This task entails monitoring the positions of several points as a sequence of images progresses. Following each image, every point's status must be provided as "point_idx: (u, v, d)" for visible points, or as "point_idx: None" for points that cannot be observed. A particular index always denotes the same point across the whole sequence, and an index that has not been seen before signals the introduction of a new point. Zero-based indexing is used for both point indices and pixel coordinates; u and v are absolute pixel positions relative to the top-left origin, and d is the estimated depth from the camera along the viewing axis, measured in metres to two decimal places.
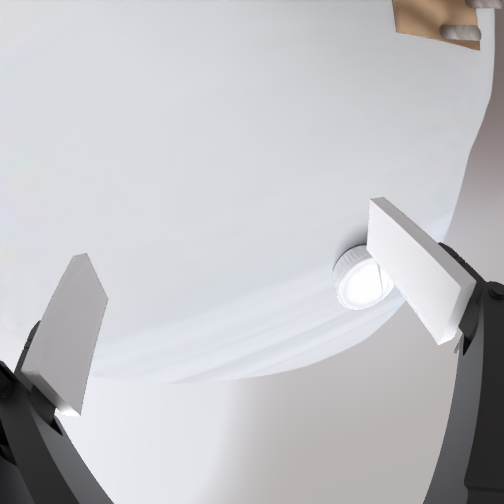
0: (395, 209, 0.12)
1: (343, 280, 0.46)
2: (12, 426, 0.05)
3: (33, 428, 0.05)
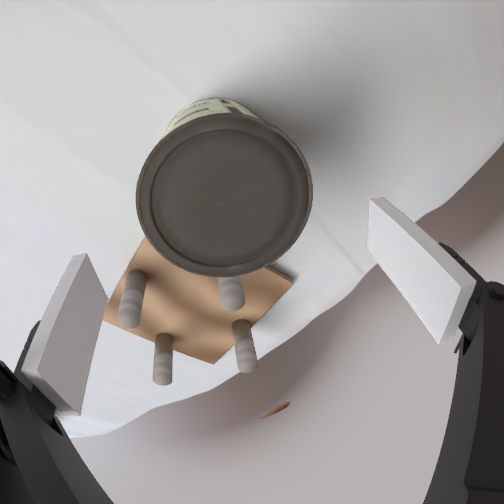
0: (395, 209, 0.12)
1: None
2: (12, 426, 0.05)
3: (33, 428, 0.05)
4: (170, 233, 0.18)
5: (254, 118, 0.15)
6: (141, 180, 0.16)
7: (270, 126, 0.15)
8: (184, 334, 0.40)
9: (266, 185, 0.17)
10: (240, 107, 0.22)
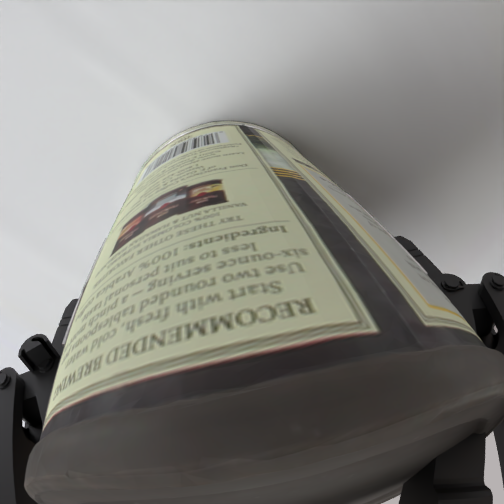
0: None
1: None
2: None
3: None
4: None
5: (491, 388, 0.02)
6: None
7: None
8: None
9: (403, 476, 0.04)
10: (298, 160, 0.09)
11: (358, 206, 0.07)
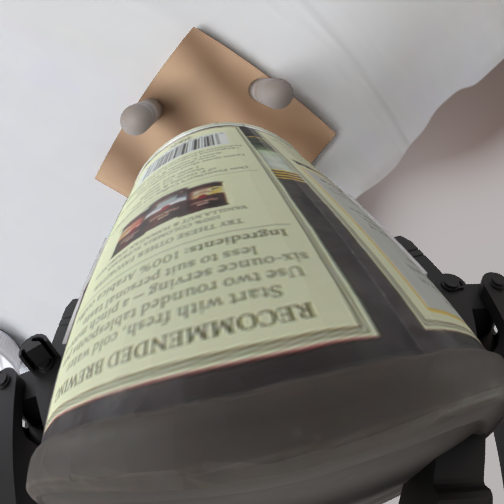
0: (356, 204, 0.13)
1: None
2: (48, 402, 0.06)
3: None
4: None
5: (490, 392, 0.02)
6: None
7: None
8: None
9: (403, 477, 0.04)
10: (298, 161, 0.09)
11: (358, 208, 0.07)
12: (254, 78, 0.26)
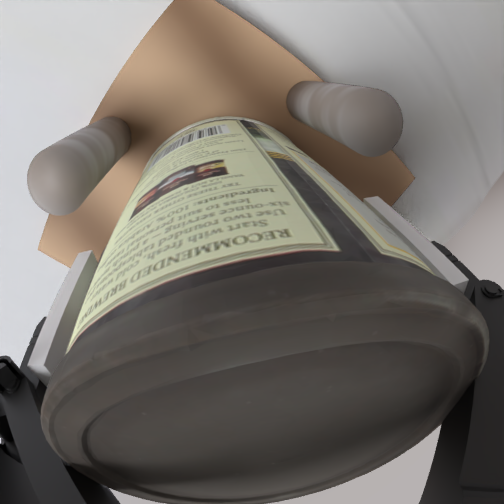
0: (388, 208, 0.12)
1: None
2: (17, 422, 0.05)
3: (39, 424, 0.06)
4: (153, 486, 0.06)
5: (438, 298, 0.03)
6: (52, 440, 0.04)
7: (468, 314, 0.04)
8: None
9: (387, 422, 0.06)
10: (291, 148, 0.10)
11: (341, 184, 0.09)
12: (297, 80, 0.14)
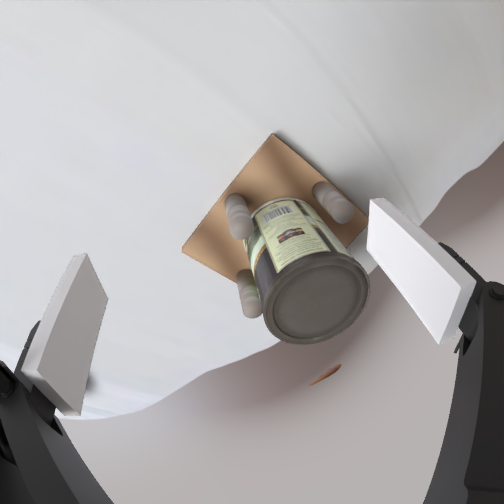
0: (395, 209, 0.12)
1: None
2: (12, 426, 0.05)
3: (33, 428, 0.05)
4: (281, 321, 0.28)
5: (345, 258, 0.25)
6: (271, 293, 0.26)
7: (353, 262, 0.25)
8: None
9: (344, 294, 0.27)
10: (316, 219, 0.32)
11: (332, 234, 0.30)
12: (317, 181, 0.36)
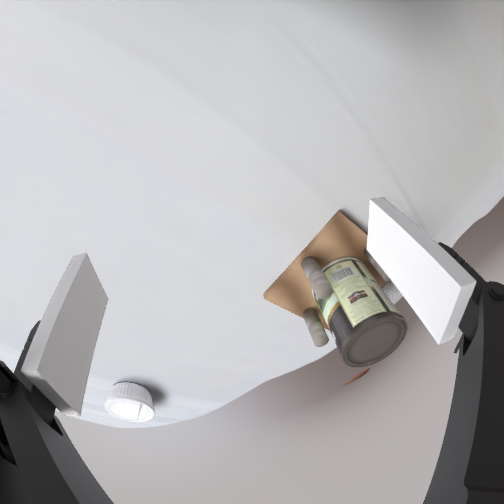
0: (395, 209, 0.12)
1: (111, 400, 0.54)
2: (12, 426, 0.05)
3: (33, 428, 0.05)
4: (351, 355, 0.39)
5: (396, 316, 0.36)
6: (349, 340, 0.37)
7: (400, 318, 0.36)
8: None
9: (391, 335, 0.38)
10: (371, 279, 0.43)
11: (383, 292, 0.41)
12: None
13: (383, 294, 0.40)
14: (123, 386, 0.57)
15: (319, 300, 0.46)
